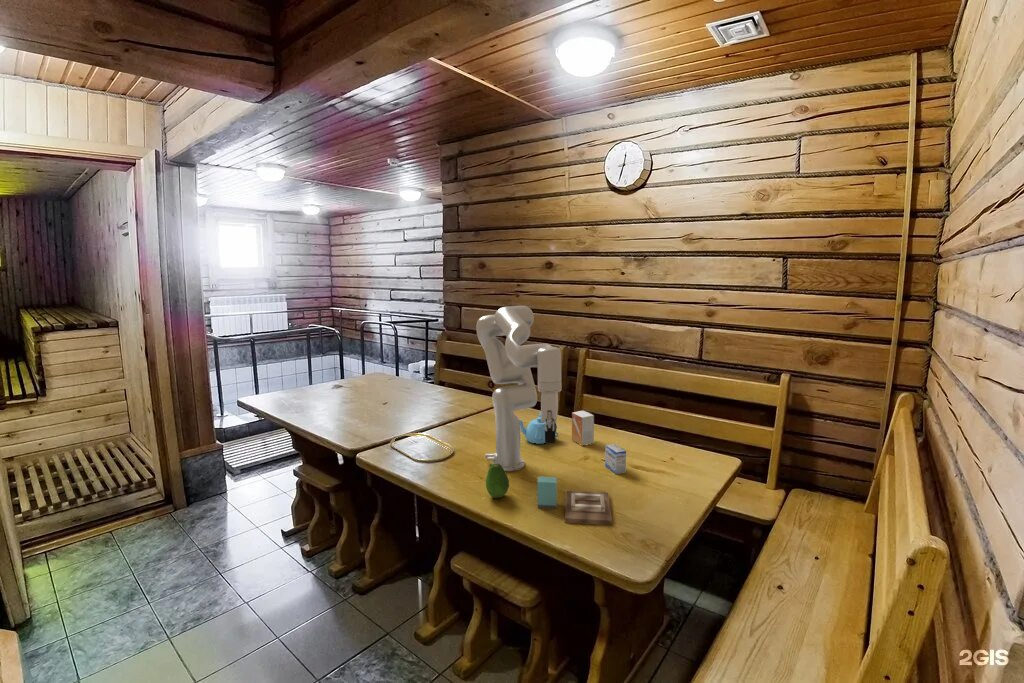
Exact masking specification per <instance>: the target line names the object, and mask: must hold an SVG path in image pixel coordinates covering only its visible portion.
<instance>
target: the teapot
mask: <svg viewBox="0 0 1024 683" xmlns="http://www.w3.org/2000/svg"><path fill="white" fill-rule="evenodd" d="M519 421H520V433H522V434H523V435H524V437H525V438H526V440H527V442H529V443H531V444H534V443H536V444H535V445H544V443H545V426H546V423H545V422H546V421H545V422H543V423H542V422H541V411H540V412H539V413H538V416H537V417H536V418H535V419H532V420H531V421H530V422H529V424H528V425H527V427H525V426H524V423H523V420H522V419H520V418H519ZM557 429H558V425H557V424H556V433H555V438H558V437H559V433H558V432H557Z"/></svg>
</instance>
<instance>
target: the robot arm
mask: <svg viewBox="0 0 1024 683" xmlns="http://www.w3.org/2000/svg"><path fill="white" fill-rule="evenodd" d="M534 317H535V315H534V312H533V311H532V309H531V308H530V307H528V306H527V305H511V306H510V305H508V306H503V307H500V308H499V309H498V310H496V312H495V313H494V314H487V315H483V316H482V317H479V318H478V320H477V321H476V326H475V328H476V335H477V338H478V341H479V344H481V347H482V349H483V351H484V355H485V359H486V362H487V366H488V370H489V374H490V378H491V380H492V382H493V384H495V385H506V384H514V383H517V384H515V385H506V386H501V387H498V388H496V389H495V390H494V391H493V392H492V397H491V398H492V400H491V401H492V405H493V410H494V419H495V422H494V423H495V424H494V425H495V452H494V453H485V456H484V457H485V459H487V461H492V464H494V463H497V464H500V465H501V466H502V467H503V469H504V471H505V472H515V471H519V470H521V469H523V468H524V467H525V465H526V464H525V460H524V459H523V458H522V456H521V455H522V454H521V427H520V421H519V419H520V418H519V417H518V416H517V415H516V414H515V412H516V411H518V410H525V409H530V408H533V407H535V406H536V404H537V402H538V393H537V391H538V392H540V394H541V395H540V412H541V422H542V423H543V422H545V421H546V422H545V423H546V426H545V443H546V444H555V443H556V437H555V435H556V434H555V433H556V432H557V430H556V425H557V419H558V414H559V413H558V410H559V409H558V408H559V393H560V392H561V391H562V390H563V389H562V387H563V386H562V385H563V384H562V352H561V349H560V348H559V347H557V346H552V345H551V344H549V343H545V342H544V343H533V344H524V343H525V342H527V340H528V339H529V338H530V336H531V327H532V326H533V324H534V319H535V318H534ZM503 336H506V339H505V344H504V343H502V341H501V340H500V339H499V338H497V337H503ZM522 344H524V345H522ZM536 367H537V389H536V385H535V381H534V377H533V374H532V370H531V368H536Z"/></svg>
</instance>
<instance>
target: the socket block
mask: <svg viewBox="0 0 1024 683" xmlns="http://www.w3.org/2000/svg"><path fill="white" fill-rule="evenodd" d="M609 495H610V494H609V492H607V491H606V492H605V491H589V490H587V491H586V490H566V492H565V511H564V512H565V513H564V523H565V524H581V525H582V524H583V525H584V524H585V525H598V526H599V525H601V526H613V518H612V511H611V503H610V497H609Z"/></svg>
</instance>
